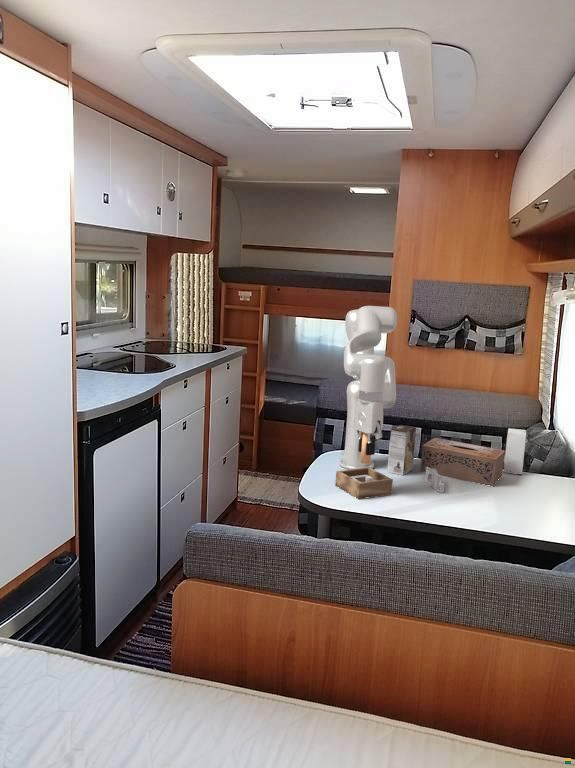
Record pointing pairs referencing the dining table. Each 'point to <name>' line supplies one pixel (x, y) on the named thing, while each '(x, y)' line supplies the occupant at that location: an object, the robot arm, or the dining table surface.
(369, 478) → the box
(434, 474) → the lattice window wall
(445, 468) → the tissue box cover
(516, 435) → the skincare box
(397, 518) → the dining table surface
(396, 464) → the coffee box
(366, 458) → the peg
